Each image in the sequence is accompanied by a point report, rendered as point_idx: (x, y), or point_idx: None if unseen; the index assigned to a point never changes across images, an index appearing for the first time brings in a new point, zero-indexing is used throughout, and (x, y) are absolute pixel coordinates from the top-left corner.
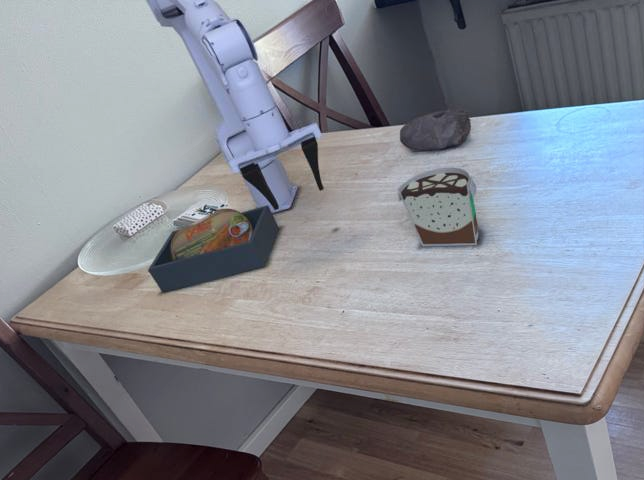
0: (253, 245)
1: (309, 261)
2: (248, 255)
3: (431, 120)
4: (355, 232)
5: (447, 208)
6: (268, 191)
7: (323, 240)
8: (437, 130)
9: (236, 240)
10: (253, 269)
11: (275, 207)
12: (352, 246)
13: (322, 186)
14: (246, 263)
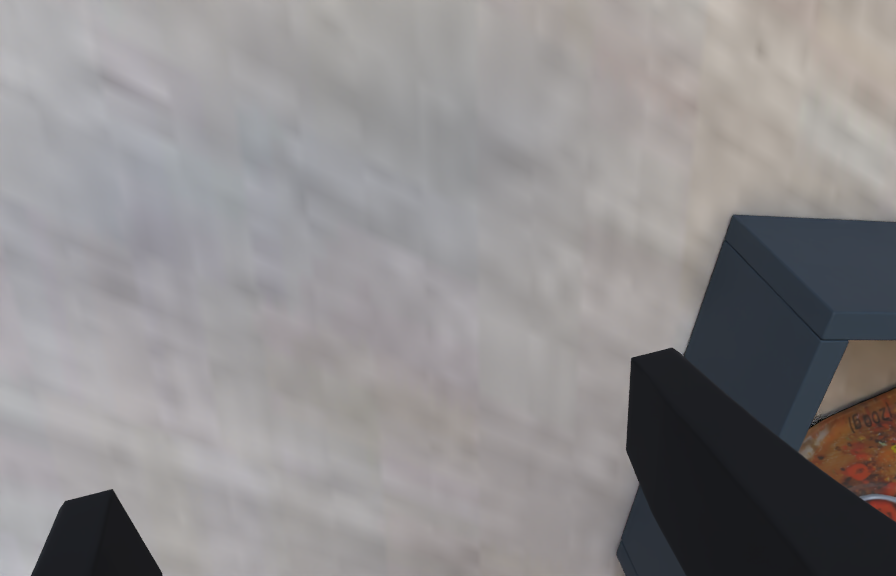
0: (820, 298)
1: (438, 126)
2: (844, 267)
3: None
4: (119, 330)
5: None
6: (767, 520)
7: (349, 335)
8: None
9: (868, 477)
10: (800, 218)
11: (670, 363)
12: (111, 162)
13: (52, 532)
14: (849, 242)
